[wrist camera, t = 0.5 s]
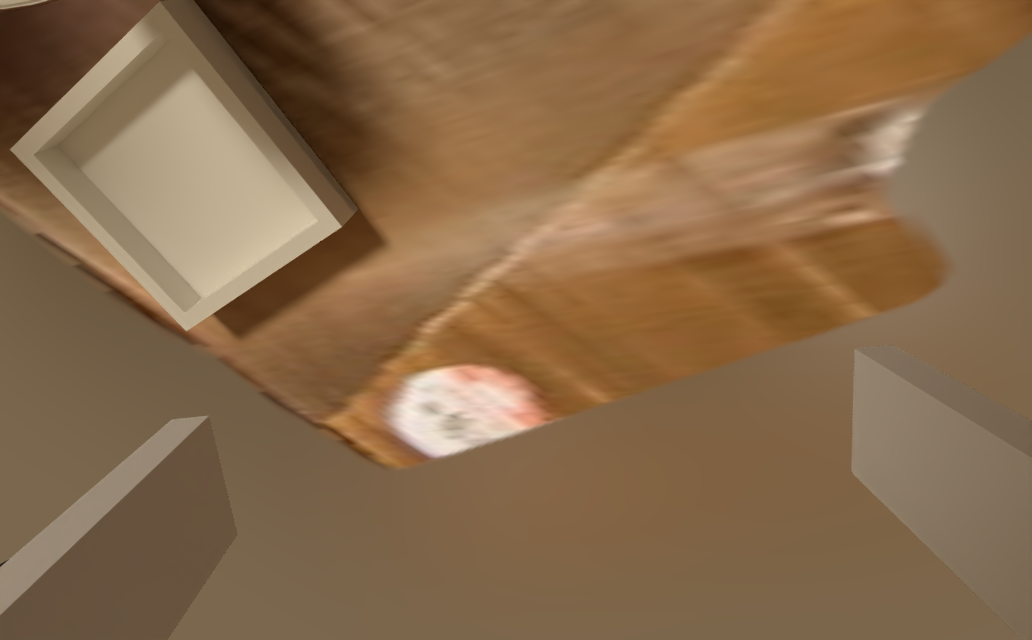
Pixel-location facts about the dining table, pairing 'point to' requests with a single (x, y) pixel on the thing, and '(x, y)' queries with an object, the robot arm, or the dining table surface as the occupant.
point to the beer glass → (21, 4)
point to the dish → (184, 165)
